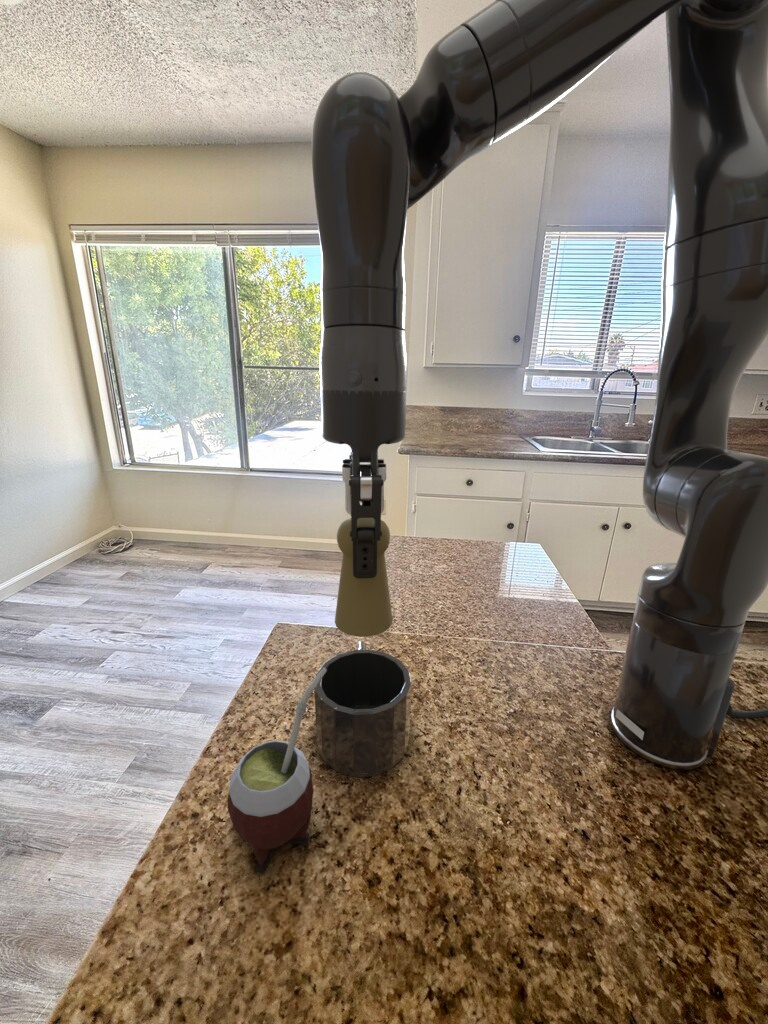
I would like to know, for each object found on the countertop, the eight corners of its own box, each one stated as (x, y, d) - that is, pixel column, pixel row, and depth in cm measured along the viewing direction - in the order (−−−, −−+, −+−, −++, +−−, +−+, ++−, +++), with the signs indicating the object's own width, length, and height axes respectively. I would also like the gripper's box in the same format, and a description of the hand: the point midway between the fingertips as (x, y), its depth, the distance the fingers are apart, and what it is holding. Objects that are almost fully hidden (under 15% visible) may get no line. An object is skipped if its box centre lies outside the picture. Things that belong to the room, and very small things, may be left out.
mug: (414, 774, 43) (417, 711, 41) (313, 780, 43) (310, 716, 40) (399, 682, 57) (401, 631, 54) (322, 685, 56) (320, 633, 54)
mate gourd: (217, 869, 35) (196, 723, 30) (260, 784, 42) (248, 656, 38) (303, 887, 34) (294, 738, 29) (331, 796, 41) (327, 666, 37)
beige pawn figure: (386, 640, 40) (388, 532, 37) (326, 632, 41) (323, 527, 38) (397, 608, 46) (399, 512, 43) (344, 602, 47) (342, 508, 44)
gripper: (418, 387, 30) (411, 598, 35) (397, 386, 44) (394, 538, 49) (313, 386, 30) (321, 600, 35) (325, 385, 43) (329, 539, 48)
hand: (363, 563), depth 42 cm, fingers closed on beige pawn figure, 5 cm apart
